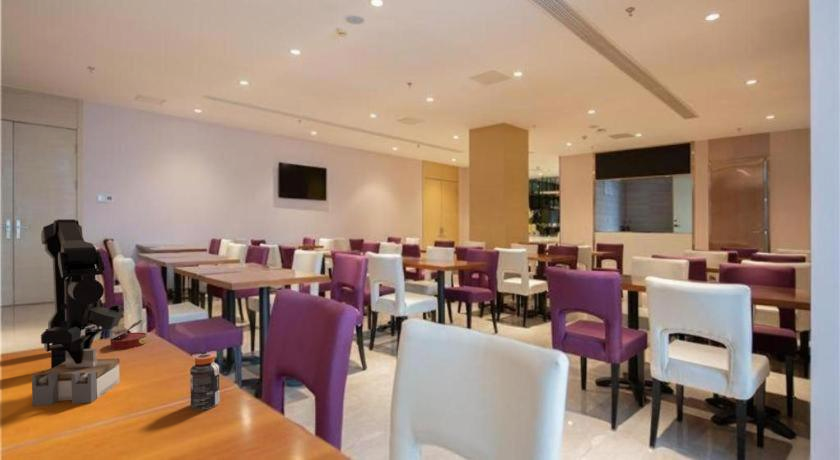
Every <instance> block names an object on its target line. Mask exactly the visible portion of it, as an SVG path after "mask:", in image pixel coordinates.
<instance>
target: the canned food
mask: <svg viewBox="0 0 840 460" xmlns="http://www.w3.org/2000/svg"><path fill="white" fill-rule="evenodd" d="M142 322H143V320H142V319H140V320H138V321H137V322H134V323H133V324H131V326H130V327H129V328H128V329H127V330H124V331H122V332H121V333H119V334H116V335H114V336H111V337H110V339H109V340H110V349H112V350H119V351H120V350H129V349H130V348H131V349H135V348H134V347H136V348H139V346H140V347H143V346H144V344H145V343H146V344H147V334H146V333H145V332H127V331H129V330H131V329H133V328H134V327H137V326H138V325H140V324H141V323H142ZM119 337H120V338H119ZM146 344H145V345H146ZM142 345H143V346H142Z"/></svg>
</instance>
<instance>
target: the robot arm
mask: <svg viewBox="0 0 840 460" xmlns="http://www.w3.org/2000/svg"><path fill="white" fill-rule="evenodd" d="M40 233H41V234H40V237H41V238H40V239H41V244H42V245H44V251H45V252H46V254H47V255H48V256H49V257H50V258H51V259H52V272H53V273H52V274H53V276H52V277H53V292H54V293H53V296H54V313H53V315H52V316H51V317H50V319H49V320H48V322H47V326H48V327H47V328H46V329H45V330H44V331H43V332H42V333H41V334H40V344H42V345H43V347H44V350H45V351H46V352H50V354H51V355H50V364H51V365H50V368H48V369H46V370H45V371H44V372H46V371H48V370H50V369H52V368H54V367H56V366H57V365H59V364H61V363H63V362H65V361H66V351H67V352H68V353H69V354H70V356H71V357H72V359H73V360H74V362H75V363H76V364H80V363H82V358H83V349H92V344H93V342H94V340H95V338H96V336H97V335H99V334H100V333H101V332H102V331H104V330H112V329H113V328H114V327H118V326H119V323H120V321H121V320H122V319H123V318H124V311H123V306H122V305H120V304H114V305H112V306H111V307H102V306H101V302H100V300H101V298H102V297H103V295H104V292H105V289H104V286H103V284H102V283H101V282H100V281H98V280H97V279H96V276H100V275H102V276H103V274H104V271H105V267H106V266H105V264H104V260H103V256H102V254H101V253H100V250H97V249H96V247H95V245H94V243H92V242H87V241H85V239H84V237H83V226H81V225H80V224H79V220H77V219H74V218H73V219H71V218H67V219H65V218H64V219H63V218H61V219H60V218H59V219H58V218H57V219H55V220H53V223H49V224H48V225H45V226H43V227H42V229H41V232H40ZM98 327H101V328H98Z"/></svg>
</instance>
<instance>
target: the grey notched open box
mask: <svg viewBox="0 0 840 460" xmlns="http://www.w3.org/2000/svg"><path fill="white" fill-rule="evenodd" d="M42 373H43V372H37V373H35V374H33V375H31V390H32V391H31V392H32V393H31V394H32V397H31V399H32V400H31V401H32V402H31V403H32V407H40V406H53V405H54V404H56V403H57V402H60V401H63V402H64V401H71V405H73V404H74V405H75V404H76V405H77V404H91V403H93V402H95V401H97V399H99V398H100V397H101V396H103V395H105V393H107V392H109V391H110V390H111V389H112V388H114V387H115V386H117V385H118V384H119V383H120V365H119V364H117V365H116V366H114V367H113V368H111V369H109V370H108V371H106V372H105V373H103V374H102V375H100V376H98V377H96V370H94V371H91V372H89V373H88V378H87V379H86V380H84V381H82V382H80V381H79V380H78V378H79V377H80V371H76V372H75V373H73V374H71V377H72V378H71V379H58V372H54V373H52V374H50V375H48V381H46V382H44V383H42V384H41V383H39V379H41V378H42Z"/></svg>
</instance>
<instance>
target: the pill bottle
mask: <svg viewBox="0 0 840 460" xmlns="http://www.w3.org/2000/svg"><path fill="white" fill-rule="evenodd" d="M189 373H190V374H189V375H190V379H189V381H190V385H189V386H190V408H192V409H193V410H199V411H200V410H202V411H203V410H207V409H212V408H214V407H216V406H217V405H218V404H219V403H220V365H219V364H218V363H217V362H215V354H213V353H202V354H198V355H196V356H195V357H194V365H193V366H192V367H191V368H190V370H189Z"/></svg>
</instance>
